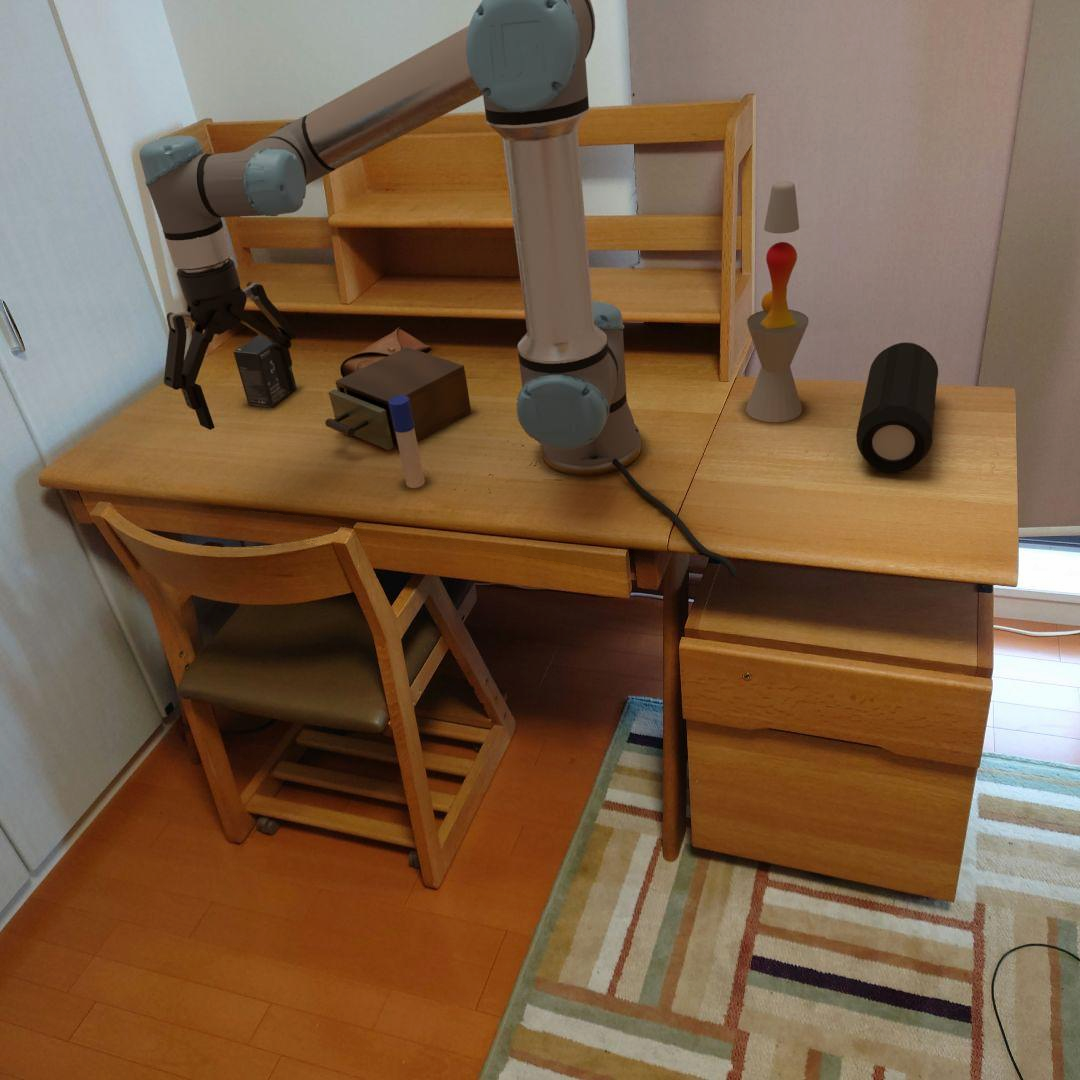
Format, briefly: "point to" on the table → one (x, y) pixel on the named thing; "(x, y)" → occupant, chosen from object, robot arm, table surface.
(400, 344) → the sunglasses case
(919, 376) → the portable speaker
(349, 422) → the drawer
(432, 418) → the cabinet
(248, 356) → the box
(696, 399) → the table surface
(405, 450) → the marker
